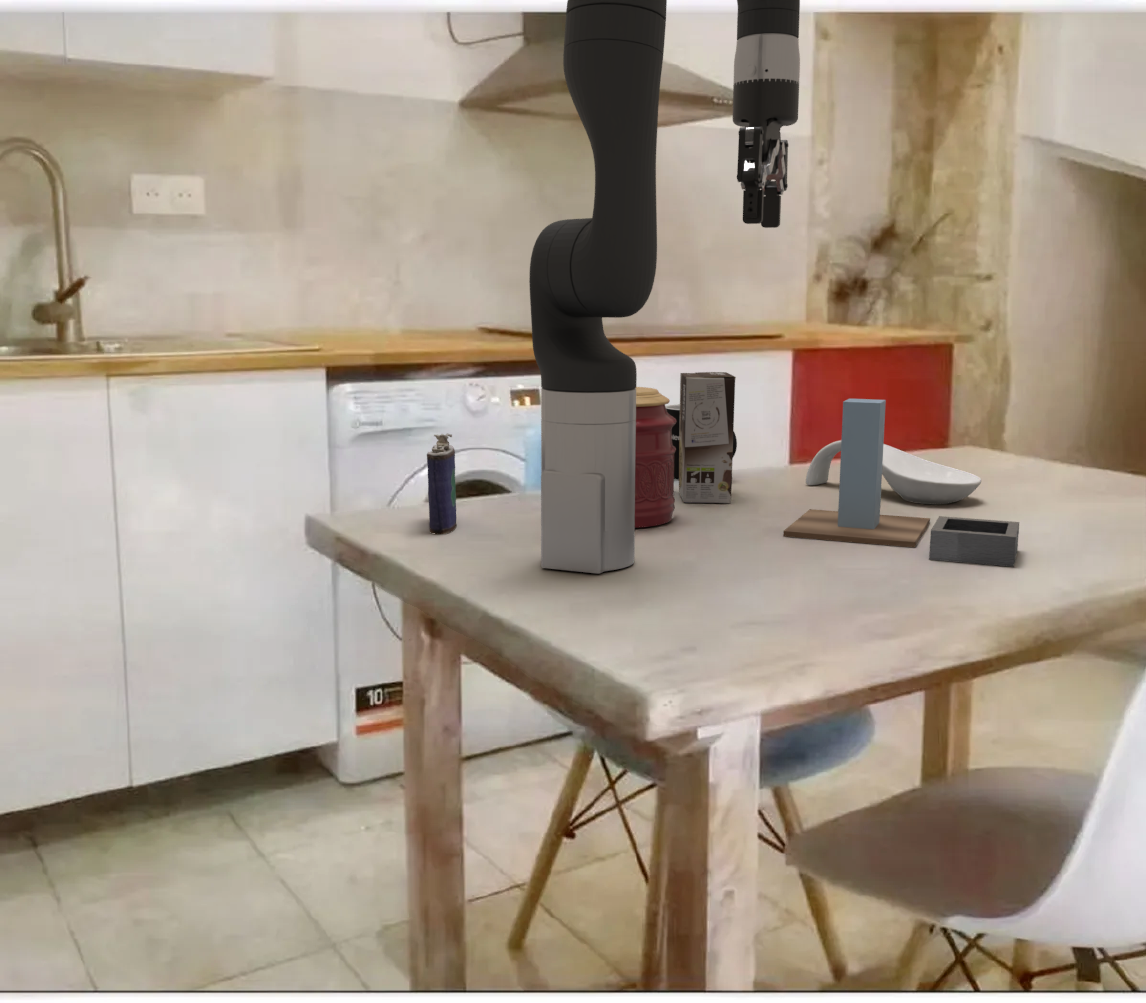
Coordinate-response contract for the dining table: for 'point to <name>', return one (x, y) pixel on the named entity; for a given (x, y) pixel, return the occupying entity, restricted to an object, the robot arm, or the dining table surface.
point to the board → (859, 529)
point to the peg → (861, 463)
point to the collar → (974, 541)
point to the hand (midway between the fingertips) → (761, 225)
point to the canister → (653, 459)
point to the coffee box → (706, 436)
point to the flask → (441, 486)
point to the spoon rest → (906, 476)
